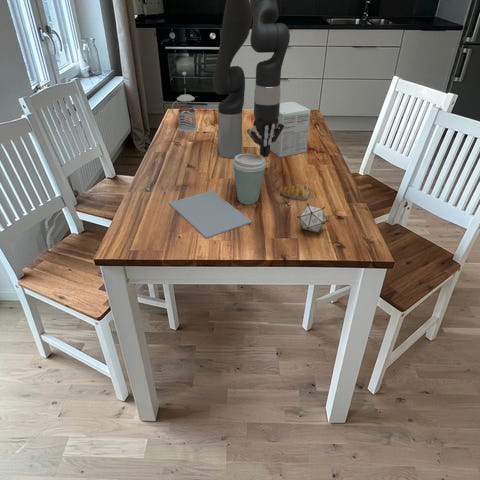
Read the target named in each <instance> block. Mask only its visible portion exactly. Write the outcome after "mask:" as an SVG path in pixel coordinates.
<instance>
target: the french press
mask: <svg viewBox="0 0 480 480" xmlns="http://www.w3.org/2000/svg"><path fill="white" fill-rule="evenodd" d="M181 75H183V79H184V80H183V81H184V83H186V77H185V76H186V75H187V72H186V71H183V72H182V73H181ZM186 91H187V90H186V89H184V94H180V95H179V96H178V97H177V98H176V100H175V101H174V102H173V103H172V105H171V113H172V115H173V116H174V117H175V118H176V119H178V120H177V121H178V126H177V128H178V130H177V131H179V132H182V131H184V133H191V131H192V132H195V130H196V131H197V130H198V129H199V127H198V126H197V124H196V123H197V122H196V119H197V118H196V110H195V106H194V105H191V104H190V105H189V104H185V105H183V104H182V105H180V106H178V112H177V113H178V114H177V115H176V113H174V110H173V109H174V108H173V107H174V105H175V104H176V105H179V102H182V103H188V102H193V101H195V97H194V96H192V95H191V94H186ZM197 128H198V129H197Z"/></svg>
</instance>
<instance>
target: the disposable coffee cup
mask: <svg viewBox="0 0 480 480" xmlns="http://www.w3.org/2000/svg"><path fill="white" fill-rule="evenodd" d="M232 159H233V160H232V167H233V172H234V180H235V187H236V194H237V199H238V201H239V203H241V204H243V205H253V204H256V203H257V202H258V200H259V198H260V197H259V196H260V193H261V188H262V185H263V184H262V183H263V180H264V176H265V169H266V168H267V163H266V162H267V161H266V159H265V157H263V156H261V155H258V154H254V153H242V154H239V155H237V156H235V158H232Z"/></svg>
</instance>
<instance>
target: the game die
mask: <svg viewBox="0 0 480 480" xmlns="http://www.w3.org/2000/svg"><path fill="white" fill-rule="evenodd" d="M306 205H307V206H306V207H305V208H304V210H303V211H302V212H301V214H300V215H297V216H296V218H297V219H299V221H300V224H301V227H302V228H301V231H304V230H306V231H310V232H313V233H316V234H317V235H318V236H320V233H319V232H320V230H321V229H322V228H323V226H324V225H325V224H326V223H328V222H329V219H327V217H326V214H325V211H324V210H325V208H326V207H325V206H323V207H318V206H313V205H309V202H306Z"/></svg>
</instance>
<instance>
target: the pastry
mask: <svg viewBox="0 0 480 480" xmlns="http://www.w3.org/2000/svg"><path fill="white" fill-rule="evenodd" d="M309 188H310V187H309V186H308V185H307V184H306V185H302V184H295V185H289V186H284V187H282V189H281V190H280V194H281V195H282V196H283V197H284V198H285V197H286V198H289V199H292V200H298V201H307V200H308V198H309V194H310V191H309Z"/></svg>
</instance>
